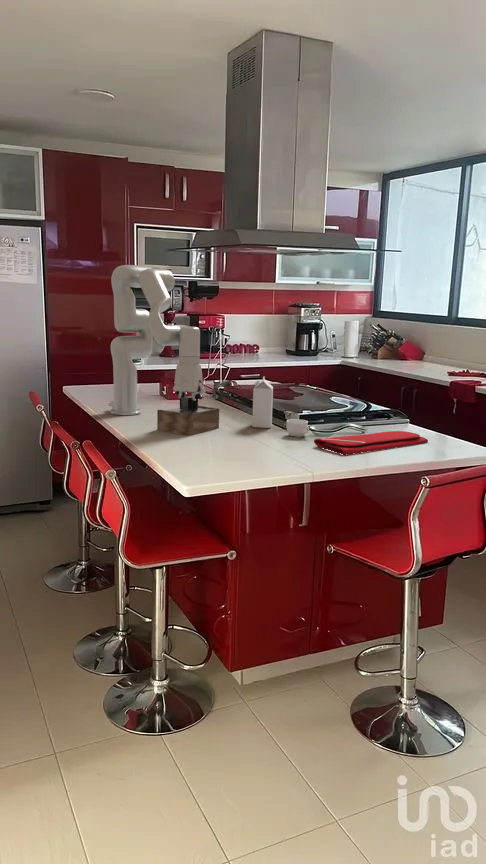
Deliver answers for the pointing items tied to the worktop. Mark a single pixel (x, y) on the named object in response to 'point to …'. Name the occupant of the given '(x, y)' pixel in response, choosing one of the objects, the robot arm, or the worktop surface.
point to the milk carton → (262, 404)
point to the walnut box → (188, 421)
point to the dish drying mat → (370, 442)
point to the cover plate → (187, 406)
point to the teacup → (297, 427)
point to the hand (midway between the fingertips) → (188, 409)
